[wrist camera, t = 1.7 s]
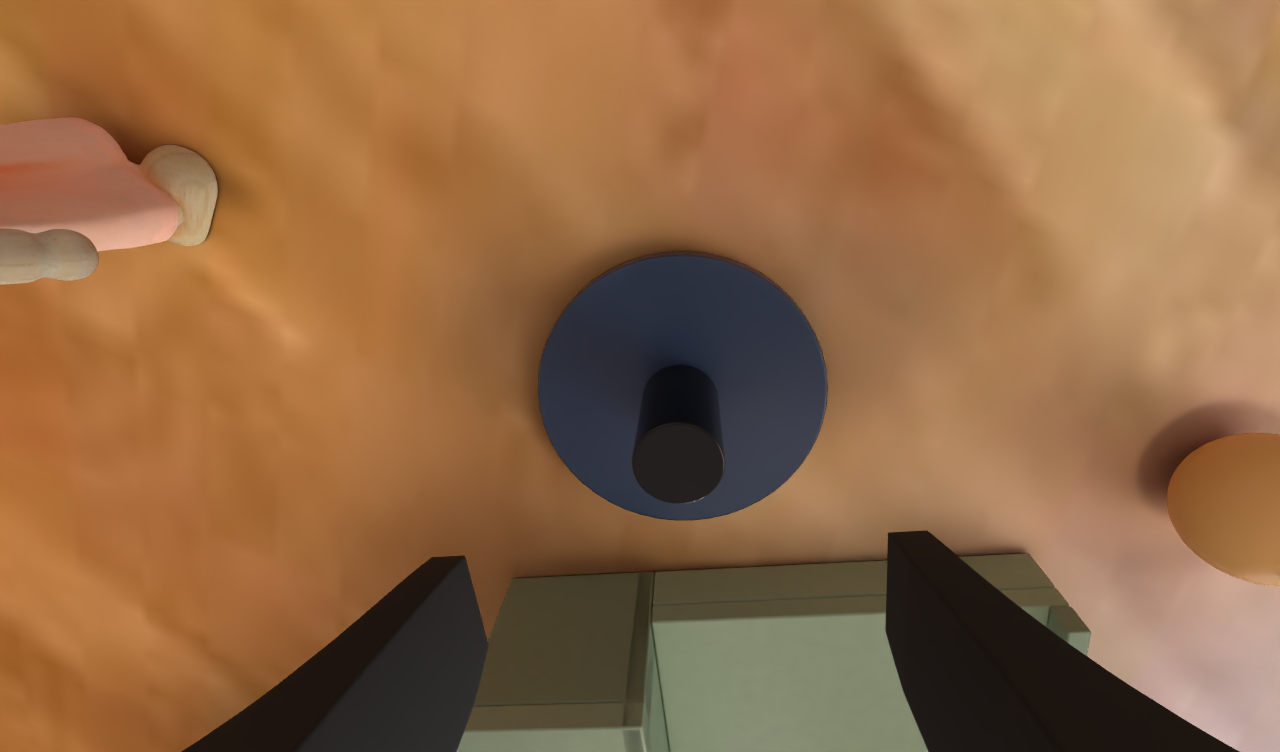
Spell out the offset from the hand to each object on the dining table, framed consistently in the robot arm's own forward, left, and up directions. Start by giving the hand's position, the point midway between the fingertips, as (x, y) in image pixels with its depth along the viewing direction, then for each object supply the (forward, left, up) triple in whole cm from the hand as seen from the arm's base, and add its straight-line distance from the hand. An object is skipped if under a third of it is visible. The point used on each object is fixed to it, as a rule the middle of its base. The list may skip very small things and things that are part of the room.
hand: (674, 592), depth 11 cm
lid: (0, 0, -9) cm, 9 cm away
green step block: (+2, -13, -9) cm, 15 cm away
